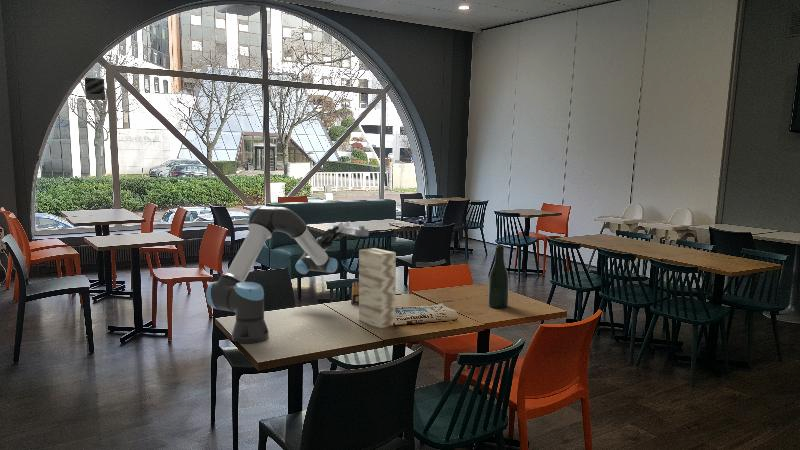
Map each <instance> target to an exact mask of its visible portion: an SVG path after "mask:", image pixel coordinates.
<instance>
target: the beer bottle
mask: <svg viewBox="0 0 800 450" xmlns="http://www.w3.org/2000/svg"><path fill="white" fill-rule="evenodd" d="M494 257H495V258H494V263H493V266H492V268H491V270H490V274H489V279H488V297H487V300H488V301H487V305H488V307H490V308H493V309H507V308H508V307H509V296H510V295H509V291H510V290H509V288H510V286H509V285H510V284H509V281H510V279H509V278H510V277H509V272H508V270H507V268H506V263H505V247H504V244H502V243H499V244H496V246H495V256H494Z"/></svg>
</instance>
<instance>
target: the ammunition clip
mask: <svg viewBox="0 0 800 450" xmlns="http://www.w3.org/2000/svg"><path fill="white" fill-rule="evenodd" d="M351 285H352V286H351V299H350V304H352V305H359V282H357V281H353V282H352V283H351Z"/></svg>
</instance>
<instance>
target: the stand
mask: <svg viewBox="0 0 800 450" xmlns="http://www.w3.org/2000/svg"><path fill="white" fill-rule="evenodd" d="M396 256H397V253H396V252H395V251H390V250H385V249H380V248H376V247H372V248H364V249H363V248H362V249H359V250H358V283H359V304H358V322H359V321H360V322H361V323H365V324H367V325H370V326H373V327H376V328H377V329H383V328H387V327H391V326H394V325H393V322H395V323H396V287H397V286H396V284H397V283H396V280H397V278H396V275H397V274H396V273H397V271H396V269H397V267H396V266H397V264H396V263H397V262H396V261H397V257H396Z"/></svg>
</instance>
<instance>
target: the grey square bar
mask: <svg viewBox="0 0 800 450" xmlns="http://www.w3.org/2000/svg"><path fill="white" fill-rule="evenodd" d="M337 225H338V224H336V225H335V224H334V225H333V224H332V228H335V227H336V226H337ZM369 231H370V230H369V228H365V225H359V226H358V227H352V226H350V227H348V226H344V227H343V228H342V229H341V230H340V231H339V232H340V233H346V234H345V235H351V236H355V237H360V238H361V237H362V238H363V237H369V234H370V233H369Z"/></svg>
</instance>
